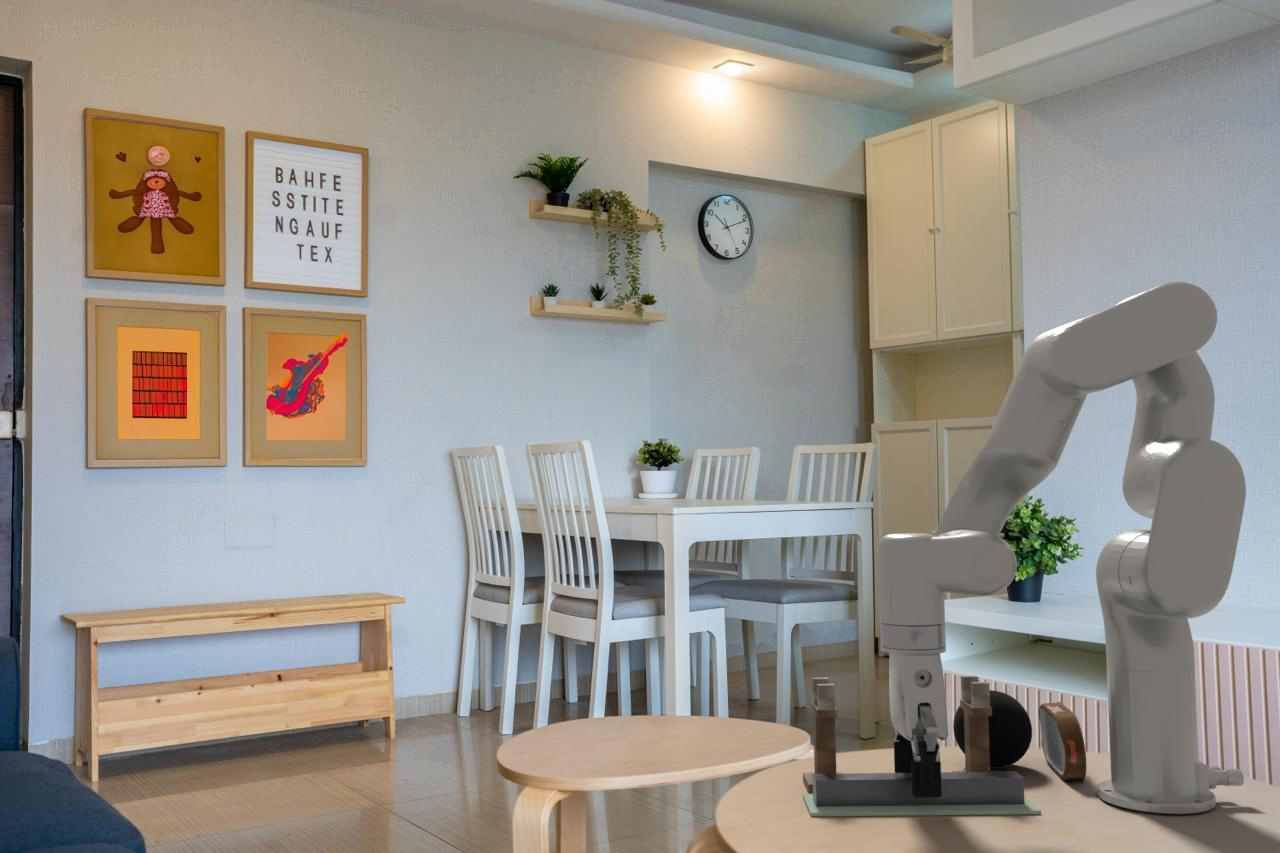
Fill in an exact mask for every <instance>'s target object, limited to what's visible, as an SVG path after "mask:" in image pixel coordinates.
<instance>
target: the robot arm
mask: <svg viewBox="0 0 1280 853" xmlns="http://www.w3.org/2000/svg"><path fill="white" fill-rule="evenodd" d="M1217 312H1218V311H1217V307H1216V305H1215V302H1214V301H1213V299H1212V297H1211V296H1210V295H1209V294H1208V293H1207V292H1206V291H1205V289H1203V288H1201V287H1199V286H1197V285H1195V284H1193V283H1189V282H1185V281H1184V282H1183V281H1171V282H1166V283H1163V284H1160V285H1157V286H1155V287H1152V288H1150V289H1148V290H1145V291H1142V292H1139V293H1137V294H1133V295H1132V296H1129V297H1127V298H1125V299H1123V300H1121V301H1120V302H1118V303H1116V304H1115V305H1114V306H1113V305H1112V306H1110V307H1108V308H1106V309H1103V310H1101V311H1099V312H1096V313H1093V314H1090V315H1087V316H1085V317H1082V318H1079V319H1077V320H1074V321H1070V322H1068V323H1065V324H1063V325H1060V326H1058V327H1055V328H1052V329H1050V330H1048V331H1045V332H1043V333H1042V334H1040V335H1038V336H1037V337H1035V339H1034V340H1033V341H1031V343H1030V344H1029V346H1028V347H1027V348H1026V350H1025V352H1024V354H1023V357H1021V361H1020V362H1019V364H1018V366H1017V367H1018V368H1017V369H1016V372H1015V375H1014V376H1013V379H1012V381H1011V383H1010V386H1009V388H1008V391H1007V393H1006V396H1005V397H1004V400H1003V401H1002V405H1001V407H1000V408H999V411H998V413H997V416H996V418H995V420H994V422H993V425H992V427H991V430H990V431H989V434H988V435H987V438H986V440H985V441H984V443H983V445H982V447H981V448H980V450H978V452H977V453H976V456H975V457H974V459H973V461H972V462H971V464H970V466H969V467H968V469H967V471H966V472H965V474H964V475H963V477H962V478H961V480H960V481H959V483H958V484H957V486H956V488H955V490H954V492H953V493H952V496H951V498H950V499H949V501H948V504H947V506H946V507H945V510H944V512H943V514H942V517H941V519H940V521H939V524H938V526H937V529H936V530H935V533H934V534H931V533H922V532H921V533H919V532H917V533H916V532H914V533H913V532H907V533H888V534H886V535H884V536H882V537H881V538H880V539H879V542H878V545H877V566H878V568H877V570H878V599H879V600H878V601H879V608H878V609H879V628H880V629H879V632H880V634H879V635H880V641H879V642H880V651H881V652H883V653H888V655H889V656H888V657H889V658H888V675H889V676H888V678H889V679H888V680H889V681H888V683H889V684H888V686H889V688H888V691H889V692H888V694H889V712H890V713H889V714H890V721H891V724H892V726H893V727H894V729H893V730H894V731H893V738H894V741H893V760H894V762H893V763H894V766H893V767H894V773H912V794H913V796H914V797H916V798H931V797H941V795H942V788H941V772H942V765H941V764H942V763H941V753H940V747H941V746H940V743H938V739H939V740H940V741H946V740H947V738H948V736H949V727H948V714H947V712H948V711H947V699H946V688H945V687H946V686H945V678H944V677H945V676H944V668H943V663H942V658H941V654H945V653H946V652H947V645H946V642H947V641H946V637H947V636H946V614H945V613H946V609H945V594H946V593H950V594H959V595H968V596H973V597H974V596H977V597H987V596H993V595H996V594H998V593H1000V592H1002V591H1003V590H1005V589H1007V587H1010V584H1012V582H1013V580H1014V579H1015V577H1016V574H1017V570H1018V561H1017V557H1016V553H1015V551H1014V549H1013V548H1012V546H1011V545H1010V544H1009V543H1008V542H1007V541H1006V540H1005V539H1003V538H1002V537H1000V534H1001V533H1002V532H1001V531H1002V530H1003V528H1004V526H1005V525H1006V522H1007V520H1008V518H1009V517H1010V515H1011V514H1012V512H1013V511H1014V509H1016V506H1017V505H1018V504H1019V503H1020V502H1021V500H1022V499H1023V498H1024V497H1025V496H1026V495H1028V493H1030V492H1031V491H1032V490H1033V489H1035V488H1036V487H1037V486H1039V485H1040V484H1041V483H1043V481H1045V480H1046V479H1047V478H1048V477H1049V475H1051V474H1052V473H1053V471H1054V470H1055V469H1056V467H1057V466H1058V465H1059V464H1058V463H1059V461H1060V459H1061V458H1062V457H1061V456H1062V454H1063V452H1064V449H1065V447H1066V445H1067V442H1068V440H1069V437H1070V436H1071V432H1072V431H1073V428H1074V426H1075V424H1076V421H1077V420H1078V419H1077V418H1078V416H1079V415H1080V412H1081V409H1082V408H1083V405H1084V403H1085V401H1086V399H1087V396H1088V395H1089V394H1092V393H1093V394H1094V393H1096V392H1101V391H1104V390H1107V389H1109V388H1112V387H1115V386H1117V385H1120V384H1123V383H1125V382H1129V381H1131V380H1132V382H1133V384H1134V388H1135V394H1136V406H1135V414H1134V420H1133V427H1132V430H1131V436H1130V441H1129V447H1128V451H1127V456H1126V462H1125V467H1124V470H1123V471H1124V472H1123V475H1122V476H1123V477H1122V494H1123V497H1124V500H1125V502H1126V503H1127V505H1128V506H1129V508H1130V509H1132V510H1133V512H1135V513H1137V514H1138V515H1140V516H1142V517H1145V518H1147V519H1151V525H1150V526H1151V527H1150V529H1134V530H1132V529H1131V530H1127V531H1125V532H1122V533H1120V534H1118V535H1116V536H1114V537H1113V538H1111V539H1110V540H1109V541H1108V542H1107V543H1106V544H1105V545H1104V546H1103V547H1102V549H1101V551H1100V553H1099V555H1098V559H1097V562H1096V570H1095V576H1096V577H1095V579H1096V588H1097V593H1098V598H1099V602H1100V608H1101V612H1102V619H1103V627H1104V638H1105V640H1104V641H1105V655H1106V656H1105V658H1106V682H1107V684H1106V686H1107V703H1108V704H1107V707H1108V710H1107V711H1108V728H1109V729H1108V731H1109V732H1108V733H1109V735H1108V736H1109V754H1110V755H1109V757H1110V777H1111V778H1109V779H1106V780H1103V781H1101V782H1099V783H1098V785H1097V795H1098V797H1099V799H1101V800H1102V801H1104V802H1106V803H1109V804H1111V805H1113V806H1117V807H1120V808H1124V809H1126V810H1127V809H1128V810H1132V811H1137V812H1144V813H1152V814H1153V813H1154V814H1165V815H1188V814H1199V813H1205V812H1209V811H1211V810H1212V809H1214V808H1215V807H1216V804H1217V801H1216V795H1215V794H1214V793H1213V792H1212V791H1211V790H1215V789H1216V788H1217V786H1225V787H1242V786H1243V785H1244V784H1245V783H1244V782H1245V781H1244V780H1245V779H1244V774H1243V771H1242V770H1241V769H1239V768H1222V769H1221V767H1220V766H1219V765H1217V766H1216V765H1215V766H1209V765H1208V764H1205V763H1203V762H1201V761H1200V758H1199V757H1200V756H1199V753H1200V751H1199V736H1198V733H1199V732H1198V731H1199V730H1198V714H1197V713H1198V712H1197V693H1196V671H1195V670H1196V665H1195V664H1196V662H1195V649H1194V641H1193V634H1192V631H1191V626H1190V623H1189V619H1196V618H1199V617H1202V616H1204V615H1207V614H1208V613H1209V612H1211V611H1213V610H1214V609H1215V608H1216V607H1217V606H1218V605H1219V604H1220V603H1221V601H1222V600H1223V598H1224V596H1225V594H1226V593H1227V590H1228V588H1229V585H1230V581H1231V578H1232V573H1233V569H1234V564H1235V559H1236V554H1237V548H1238V542H1239V539H1240V532H1241V527H1242V521H1243V517H1244V516H1243V515H1244V510H1245V504H1246V497H1247V496H1246V494H1247V486H1246V478H1245V473H1244V471H1243V467H1242V464H1241V463H1240V461H1239V459H1238V458H1237V457H1236V455H1235V454H1234V453H1233V452H1232V451H1231V450H1230V449H1229V448H1228V447H1226V445H1224V444H1222V443H1220V442H1218V441H1216V440H1213V439H1212V432H1213V425H1214V424H1213V421H1214V416H1215V415H1214V414H1215V402H1216V401H1215V388H1214V384H1213V381H1212V378H1211V375H1210V372H1209V371H1208V368H1207V366H1206V364H1205V363H1204V361H1203V359H1202V358H1201V355H1199V353H1198V352H1197V351H1199V350H1200V349H1202V348H1203V347H1204V346H1205V345H1206V344H1207V343H1208V342H1209V340H1211V338H1212V336H1213V335H1214V333H1215V331H1216V327H1217V322H1218V313H1217Z"/></svg>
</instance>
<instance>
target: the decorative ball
mask: <svg viewBox="0 0 1280 853" xmlns="http://www.w3.org/2000/svg"><path fill="white" fill-rule="evenodd" d="M990 707H991V708H992V716H988V723H989V752H990V769H1003V768H1006V767H1010V766H1012V765H1014V764H1015V763H1017V762H1019V761H1020V760H1021V759H1022V758H1023V757H1024V756H1025V755H1026V754H1027V752H1028V750H1029V748H1030V746H1031V742H1032V739H1033V738H1032V737H1033V727H1032V726H1033V725H1032V722H1031V719H1030V716H1029V714H1028V712H1027V711H1026V709H1025V707H1024V706H1023V705H1022V704H1021V703H1020V702H1019V700H1017V699H1016V698H1015V697H1014V696H1011V695H1009V694H1007V693H1005V692H1004V691H1003V692H1002V691H999V690H991V689H990ZM952 726H953V728H952V729H953V735H954V738H955V741H956V744H957V745H958V747H959V750H960V751H961V752H962V753H963V754H964V755H965V735H964V710H963V709H962V708H960V705H959V706H958V708H957V710H956V711H955V714H954V717H953V725H952Z"/></svg>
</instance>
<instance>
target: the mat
mask: <svg viewBox="0 0 1280 853" xmlns="http://www.w3.org/2000/svg"><path fill="white" fill-rule="evenodd" d="M802 799H803V802H804V803H805V806H806V808H807V811H808V813H809V815H810V817H874V816H875V817H883V816H886V817H887V816H890V817H891V816H894V817H896V816H976V815H977V816H979V815H982V816H983V815H985V816H987V815H989V816H991V815H992V816H993V815H994V816H995V815H997V816H1000V815H1003V816H1004V815H1005V816H1006V815H1042V810H1041V809H1040V808H1039V807H1037V806H1036V805H1035V804H1034V803H1033V802H1031V801H1030V799H1028V798H1027V797H1025V795H1024V802H1025V804H1009V805H920V806H831V807H816V805H815V802H814V800H813V793H802Z"/></svg>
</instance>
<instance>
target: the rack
mask: <svg viewBox="0 0 1280 853" xmlns="http://www.w3.org/2000/svg"><path fill="white" fill-rule="evenodd" d="M979 678H980V677H979V675H960V690H961V691H960V696H961V697H960V698H961V699H959V706H960V708H962V709H963V710H964V735H965V754H964V759H965V770H951V772H994V771H992V770H991V768H990V752H989V723H988V716H992V708H991V707H990V690H991V689H990V682H988V681H979ZM811 682H812V684H811V685H812V687H811V688H812V690H811V691H812V700H811V702H810V708H811V711H812V718H813V719H812V720H813V723H812V724H813V755H814V756H813V758H814V760H813V763H814V766H813V767H814V771H813V772H812V771H809V772H807V771H805V772H802V782H803V781H804V782H803V783H805V784H804V786H805V788H806V791H807V792H808V794H813V777H812V774H844V772H842V771H837V748H836V746H837V743H836V740H837V739H836V719H837V718H838V714H837V712H838V710H837V708H836V700H835V699H836V698H835V696H836V695H835V691H836V690H835V684H834V683H830V679H829V677H811Z"/></svg>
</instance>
